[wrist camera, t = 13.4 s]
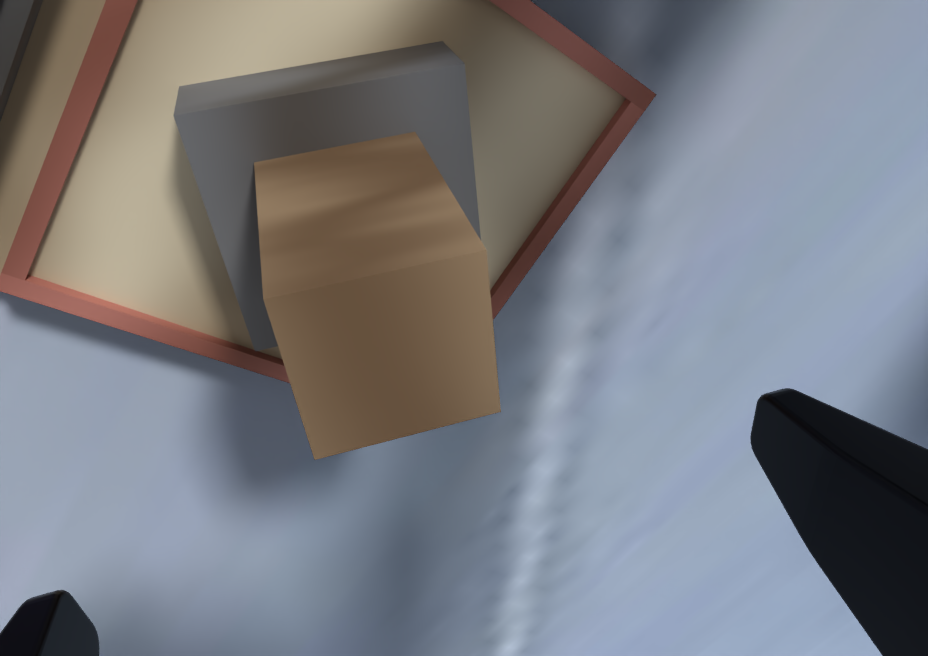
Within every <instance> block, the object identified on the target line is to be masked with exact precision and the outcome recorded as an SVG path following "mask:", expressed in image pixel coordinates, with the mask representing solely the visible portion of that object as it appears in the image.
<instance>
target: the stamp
mask: <svg viewBox="0 0 928 656" xmlns="http://www.w3.org/2000/svg"><path fill="white" fill-rule="evenodd" d="M173 116H174V119H175V122H176V125H177V128H178V130H179V133H180V136H181V139H182V142H183V145H184V148H185V151H186V154H187V156H188V159H189V162H190V165H191V168H192V171H193V174H194V177H195V179H196V182H197V185H198V188H199V191H200V194H201V197H202V200H203V203H204V205H205V208H206V211H207V214H208V217H209V220H210V223H211V226H212V228H213V231H214V234H215V237H216V240H217V243H218V246H219V249H220V252H221V254H222V257H223V260H224V263H225V266H226V269H227V272H228V275H229V278H230V280H231V283H232V286H233V289H234V292H235V295H236V298H237V301H238V303H239V306H240V309H241V312H242V315H243V318H244V321H245V324H246V327H247V329H248V332H249V335H250V338H251V341H252V344H253V347H254V350H255V351H260V350H264V349H268V348H272V347H277V346H278V347H279V350H280V353H281V356H282V359H283V363H284V366H285V369H286V372H287V375H288V378H289V381H290V384H291V388H292V391H293V394H294V397H295V400H296V403H297V406H298V409H299V413H300V416H301V419H302V422H303V425H304V428H305V431H306V434H307V438H308V441H309V444H310V447H311V450H312V453H313V456H314V459H315V460H316V459H320V458H324V457H328V456H332V455H336V454H339V453H343V452H347V451H351V450H355V449H359V448H363V447H367V446H370V445H374V444H378V443H382V442H386V441H390V440H394V439H397V438H401V437H405V436H409V435H413V434H417V433H421V432H424V431H428V430H432V429H436V428H440V427H444V426H448V425H451V424H455V423H459V422H463V421H467V420H471V419H475V418H478V417H482V416H486V415H490V414H494V413H498V412H501V409H500V397H499V386H498V375H497V363H496V352H495V341H494V329H493V318H492V306H491V295H490V284H489V272H488V261H487V250H486V248H485V247H484V245H483V243H482V242H481V235H480V224H479V213H478V202H477V191H476V180H475V170H474V159H473V148H472V137H471V126H470V116H469V105H468V94H467V83H466V72H465V63H464V62H463V61H462V60H461V59H460V58H459V57H458V56H457V55H456V54H455V53H454V52H453V51H452V50H451V49H450V48H449V47H448V46H447V45H446V44H445V43H444V42H443V41H439V42H434V43H428V44H422V45H416V46H410V47H405V48H399V49H393V50H387V51H381V52H376V53H370V54H364V55H358V56H352V57H347V58H341V59H335V60H329V61H323V62H318V63H312V64H306V65H300V66H294V67H289V68H283V69H277V70H271V71H265V72H260V73H254V74H248V75H242V76H236V77H231V78H225V79H219V80H213V81H207V82H202V83H196V84H190V85H184V86H179V90H178V95H177V100H176V105H175V110H174V115H173Z"/></svg>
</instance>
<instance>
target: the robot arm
mask: <svg viewBox="0 0 928 656" xmlns="http://www.w3.org/2000/svg"><path fill="white" fill-rule="evenodd" d="M751 446H752V449H753V452H754V454H755V456H756V458H757V460H758V462H759V463H760V465H761V467H762V469H763V470H764V472H765V474H766V476H767V478H768V479H769V481H770V483H771V485H772V487H773V488H774V490H775V492H776V494H777V495H778V497H779V499H780V501H781V503H782V504H783V506H784V508H785V510H786V512H787V513H788V515H789V517H790V519H791V520H792V522H793V524H794V526H795V528H796V529H797V531H798V533H799V535H800V536H801V538H802V540H803V541H804V543H805V545H806V546H807V548H808V550H809V551H810V553H811V554H812V556H813V557H814V559H815V560H816V562H817V563H818V565H819V566H820V568H821V569H822V570H823V572H824V573H825V575H826V576H827V577H828V579H829V580H830V582H831V583H832V585H833V586H834V587H835V589H836V590H837V592H838V593H839V594H840V596H841V597H842V599H843V600H844V602H845V603H846V604H847V606H848V607H849V609H850V610H851V612H852V613H853V614H854V616H855V617H856V619H857V620H858V621H859V623H860V624H861V626H862V627H863V629H864V630H865V631H866V633H867V634H868V636H869V637H870V638H871V640H872V641H873V643H874V644H875V646H876V647H877V648H878V650H879V651H880V653H881V654H882V655H883V656H928V449H926V448H924V447H921V446H919V445H917V444H915V443H912V442H910V441H908V440H906V439H903V438H901V437H899V436H897V435H895V434H892V433H890V432H888V431H886V430H883V429H881V428H879V427H877V426H875V425H872V424H870V423H868V422H866V421H863V420H861V419H859V418H857V417H854V416H852V415H850V414H848V413H846V412H843V411H841V410H839V409H837V408H834V407H832V406H830V405H828V404H826V403H823V402H821V401H819V400H817V399H814V398H812V397H810V396H808V395H805V394H803V393H801V392H799V391H796V390H794V389H790V388H785V389H781V390H777V391H773V392H770V393H766V394H764V395H762V396H761V397H760V398H759V399H758V401H757V405H756V410H755V416H754V421H753V426H752V431H751ZM0 656H99V639H98V634H97V631H96V628H95V626H94V625H93V623H92V622H91V621H90V619H89V618H88V617H87V615H86V614H85V613H84V611H83V610H82V609H81V607H80V606H79V605H78V603H77V602H76V601H75V599H74V598H73V597H72V596H71V594H70V593H69V592H67V591H64V590H57V591H54V592H50V593H46V594H43V595H39V596H36V597H32V598H30V599H28V600H27V601H25V602H24V603H23V604H22V605H21V606H20V607H19V609H18V610H17V611H16V613H15V614H14V615H13V617H12V618H11V619H10V621H9V622H8V623H7V625H6V626H5V627H4V629H3V630H2V631H1V633H0Z"/></svg>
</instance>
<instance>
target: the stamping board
mask: <svg viewBox="0 0 928 656" xmlns="http://www.w3.org/2000/svg"><path fill="white" fill-rule="evenodd" d="M439 41H443V42H444V43H445V44H446V45H447V46H448V47H449V48H450V49H451V50H452V51H453V52H454V53H455V54H456V55H457V56H458V57H459V58H460V59H461V60H462V61H463V62H464V63H465V72H466V83H467V94H468V105H469V116H470V126H471V137H472V148H473V159H474V170H475V180H476V191H477V202H478V213H479V224H480V235H481V242H482V243H483V245H484V247H485V248H486V250H487V261H488V272H489V284H490V295H491V306H492V318H493V319H494V318H495V317H496V315H497V314H498V313H499V311H500V310H501V308H502V307H503V306H504V304H505V303H506V302H507V300H508V299H509V297H510V296H511V295H512V293H513V292H514V290H515V289H516V288H517V286H518V285H519V284H520V282H521V281H522V279H523V278H524V277H525V275H526V274H527V273H528V271H529V270H530V268H531V267H532V266H533V264H534V263H535V261H536V260H537V259H538V257H539V256H540V255H541V253H542V252H543V250H544V249H545V248H546V246H547V245H548V243H549V242H550V241H551V239H552V238H553V237H554V235H555V234H556V232H557V231H558V230H559V228H560V227H561V226H562V224H563V223H564V221H565V220H566V219H567V217H568V216H569V214H570V213H571V212H572V210H573V209H574V208H575V206H576V205H577V203H578V202H579V201H580V199H581V198H582V197H583V195H584V194H585V192H586V191H587V190H588V188H589V187H590V185H591V184H592V183H593V181H594V180H595V179H596V177H597V176H598V174H599V173H600V172H601V170H602V169H603V168H604V166H605V165H606V163H607V162H608V161H609V159H610V158H611V156H612V155H613V154H614V152H615V151H616V150H617V148H618V147H619V145H620V144H621V143H622V141H623V140H624V139H625V137H626V136H627V134H628V133H629V132H630V130H631V129H632V127H633V126H634V125H635V123H636V122H637V121H638V119H639V118H640V116H641V115H642V114H643V112H644V111H645V110H646V108H647V107H648V105H649V104H650V103H651V101H652V100H653V98H654V97H655V96H656V94H655V93H654V92H652V91H651V90H650V89H648V88H647V87H646V86H644V85H643V84H642V83H640V82H639V81H638V80H636V79H635V78H633V77H632V76H631V75H629V74H628V73H627V72H625V71H624V70H623V69H621V68H620V67H619V66H617V65H616V64H615V63H613V62H612V61H611V60H609V59H608V58H607V57H605V56H604V55H603V54H601V53H600V52H599V51H597V50H596V49H594V48H593V47H592V46H590V45H589V44H588V43H586V42H585V41H584V40H582V39H581V38H580V37H578V36H577V35H576V34H574V33H573V32H572V31H570V30H569V29H568V28H566V27H565V26H564V25H562V24H561V23H560V22H558V21H557V20H556V19H554V18H553V17H551V16H550V15H549V14H547V13H546V12H545V11H543V10H542V9H541V8H539V7H538V6H537V5H535V4H534V3H533V2H531V1H530V0H0V291H1V292H4V293H7V294H10V295H14V296H17V297H20V298H23V299H26V300H29V301H33V302H36V303H39V304H42V305H45V306H48V307H51V308H55V309H58V310H61V311H64V312H67V313H70V314H73V315H77V316H80V317H83V318H86V319H89V320H92V321H95V322H99V323H102V324H105V325H108V326H111V327H114V328H118V329H121V330H124V331H127V332H130V333H133V334H136V335H140V336H143V337H146V338H149V339H152V340H155V341H158V342H162V343H165V344H168V345H171V346H174V347H177V348H181V349H184V350H187V351H190V352H193V353H196V354H199V355H203V356H206V357H209V358H212V359H215V360H218V361H221V362H225V363H228V364H231V365H234V366H237V367H240V368H244V369H247V370H250V371H253V372H256V373H259V374H262V375H266V376H269V377H272V378H275V379H278V380H281V381H284V382H288V383H290V381H289V378H288V375H287V372H286V369H285V366H284V363H283V359H282V356H281V353H280V350H279V347H278V346H277V347H272V348H268V349H264V350H260V351H255V350H254V347H253V344H252V341H251V338H250V335H249V332H248V329H247V327H246V324H245V321H244V318H243V315H242V312H241V309H240V306H239V303H238V301H237V298H236V295H235V292H234V289H233V286H232V283H231V280H230V278H229V275H228V272H227V269H226V266H225V263H224V260H223V257H222V254H221V252H220V249H219V246H218V243H217V240H216V237H215V234H214V231H213V228H212V226H211V223H210V220H209V217H208V214H207V211H206V208H205V205H204V203H203V200H202V197H201V194H200V191H199V188H198V185H197V182H196V179H195V177H194V174H193V171H192V168H191V165H190V162H189V159H188V156H187V154H186V151H185V148H184V145H183V142H182V139H181V136H180V133H179V130H178V128H177V125H176V122H175V119H174V116H173V115H174V110H175V105H176V100H177V95H178V90H179V86H184V85H190V84H196V83H202V82H207V81H213V80H219V79H225V78H231V77H236V76H242V75H248V74H254V73H260V72H265V71H271V70H277V69H283V68H289V67H294V66H300V65H306V64H312V63H318V62H323V61H329V60H335V59H341V58H347V57H352V56H358V55H364V54H370V53H376V52H381V51H387V50H393V49H399V48H405V47H410V46H416V45H422V44H428V43H434V42H439Z"/></svg>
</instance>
